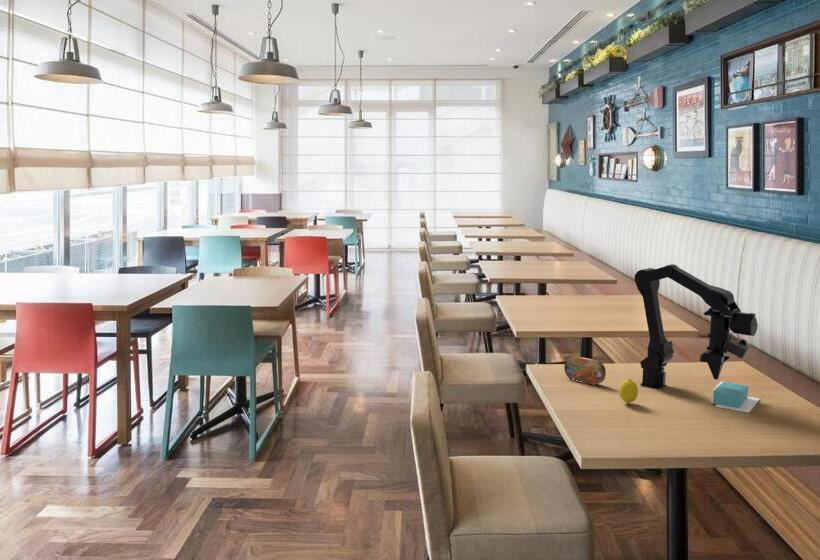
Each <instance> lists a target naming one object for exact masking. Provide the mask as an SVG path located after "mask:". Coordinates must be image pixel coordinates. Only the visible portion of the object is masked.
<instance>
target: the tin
mask: <svg viewBox="0 0 820 560" xmlns="http://www.w3.org/2000/svg"><path fill="white" fill-rule="evenodd" d="M563 368H564V369H563V370H564V373H565V375H566V377H568V379H569V380H571V379H574V380H578V381H582V382H586V383H589V384H588V385H590V384H592V385H591V386H597V385H599V384H601V383H602V382H604V380H605V379H606V375H607V370H606V367H605V365H604V364H603V363H602V362H601V361H599V360H598V359H597V360H596V359H592V358H587V357H583V356H578V355H577V356H570V357H568V359H566V361H565V363H564V366H563ZM586 383H585V384H586Z"/></svg>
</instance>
